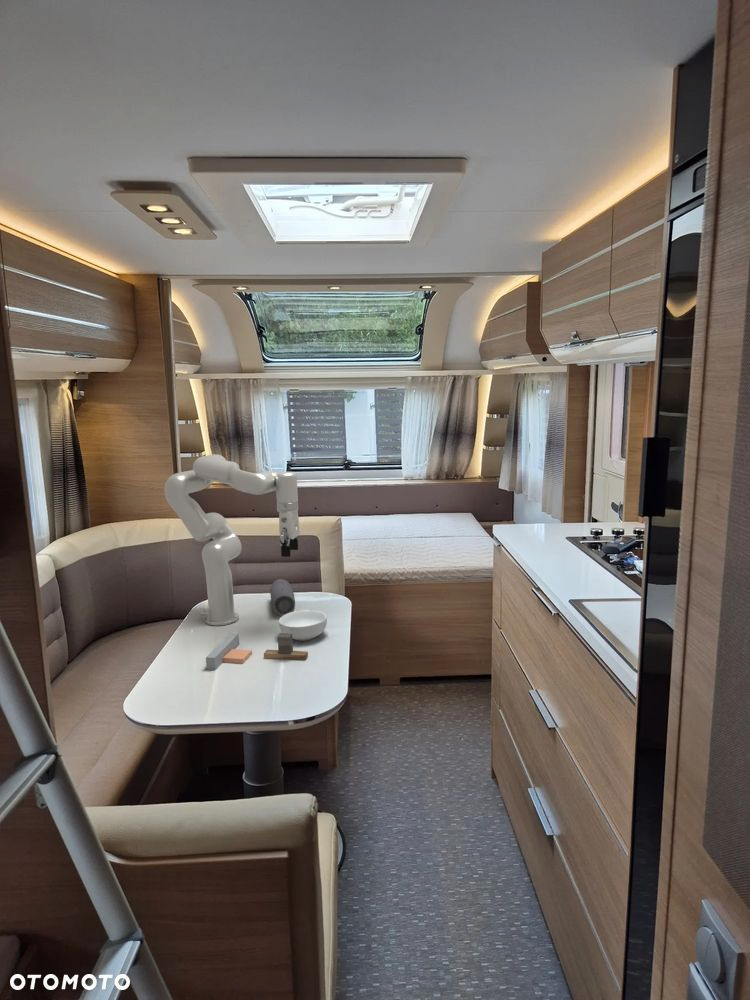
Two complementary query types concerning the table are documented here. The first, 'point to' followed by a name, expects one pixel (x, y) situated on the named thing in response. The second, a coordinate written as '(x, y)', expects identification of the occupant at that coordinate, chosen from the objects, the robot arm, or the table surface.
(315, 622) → the cereal bowl
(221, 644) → the stop rail
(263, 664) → the table surface
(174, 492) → the robot arm
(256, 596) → the table surface
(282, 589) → the bluetooth speaker
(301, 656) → the scraper
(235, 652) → the tile
